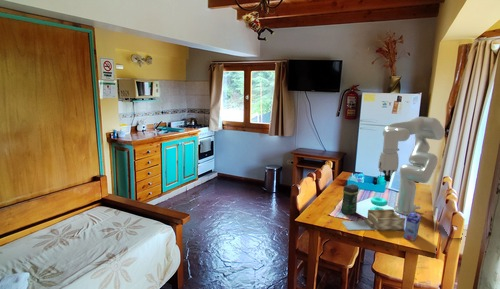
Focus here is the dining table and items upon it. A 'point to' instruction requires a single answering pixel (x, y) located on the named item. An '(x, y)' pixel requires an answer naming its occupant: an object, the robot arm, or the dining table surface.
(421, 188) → the dining table surface
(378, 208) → the donuts
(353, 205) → the coffee jar
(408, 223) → the ink cartridge box
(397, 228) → the birch box
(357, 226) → the cover plate
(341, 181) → the dining table surface
